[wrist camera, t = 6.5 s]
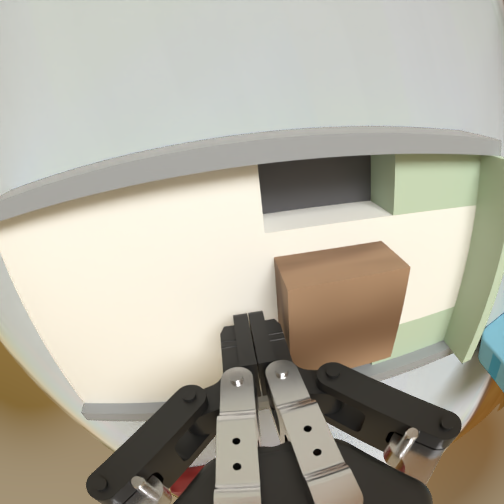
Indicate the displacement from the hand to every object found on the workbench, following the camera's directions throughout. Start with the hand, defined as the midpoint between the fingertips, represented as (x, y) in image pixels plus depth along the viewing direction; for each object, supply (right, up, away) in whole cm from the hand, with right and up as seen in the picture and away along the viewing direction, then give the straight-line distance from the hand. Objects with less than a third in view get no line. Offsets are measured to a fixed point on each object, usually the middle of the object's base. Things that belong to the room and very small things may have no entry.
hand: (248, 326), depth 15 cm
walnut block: (+4, +1, +2) cm, 5 cm away
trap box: (+1, +2, +4) cm, 5 cm away
